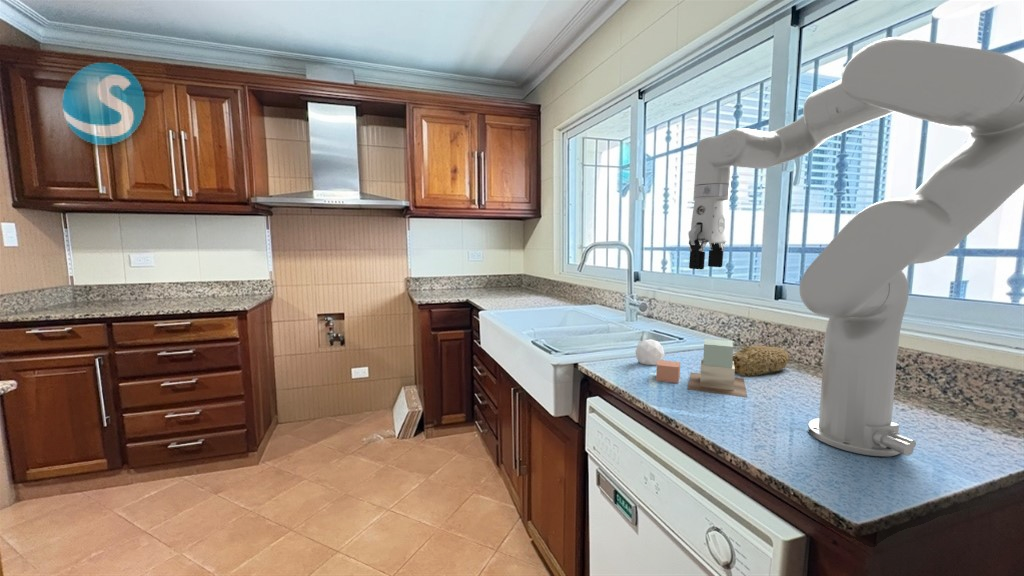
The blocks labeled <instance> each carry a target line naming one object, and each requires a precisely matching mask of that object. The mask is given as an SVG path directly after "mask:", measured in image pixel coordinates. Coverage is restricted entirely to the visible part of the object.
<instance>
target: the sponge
mask: <svg viewBox="0 0 1024 576" xmlns="http://www.w3.org/2000/svg"><path fill="white" fill-rule="evenodd" d="M790 358H791V357H790V354H789V352H788V351H787V350H786V349H783V348H781V347H777V346H766V345H748V346H746V347H744V348H741V349H740V350H738V351H736V352H733V361H734V367H735V373H737V374H738V375H740V376H746V377H747V376H748V377H750V376H751V377H752V376H760V375H764V374H772V373H777V372H779V371H782V370H783V369H785V368H786V366H787V365H788V364H789V363H790V360H791V359H790Z"/></svg>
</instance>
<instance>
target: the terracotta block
mask: <svg viewBox="0 0 1024 576" xmlns="http://www.w3.org/2000/svg"><path fill="white" fill-rule="evenodd" d="M680 378H681V361H674V360H665V359H663V360H659V361H658V363H657V365H656V378H655V379H656V380H655V381H656V382H657V381H658V382H664V383H665V382H666V383H674V384H679V382H680Z"/></svg>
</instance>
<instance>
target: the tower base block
mask: <svg viewBox="0 0 1024 576" xmlns="http://www.w3.org/2000/svg"><path fill="white" fill-rule="evenodd" d="M703 358H704V357H701V362H700V386H703V387H710V388H718V389H726V390H733V391H734V378H736V376H735V375H736V374H735V373H736V372H735V367H734V361H733V363H732V368H725V367H716V366H707V365H703Z"/></svg>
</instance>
